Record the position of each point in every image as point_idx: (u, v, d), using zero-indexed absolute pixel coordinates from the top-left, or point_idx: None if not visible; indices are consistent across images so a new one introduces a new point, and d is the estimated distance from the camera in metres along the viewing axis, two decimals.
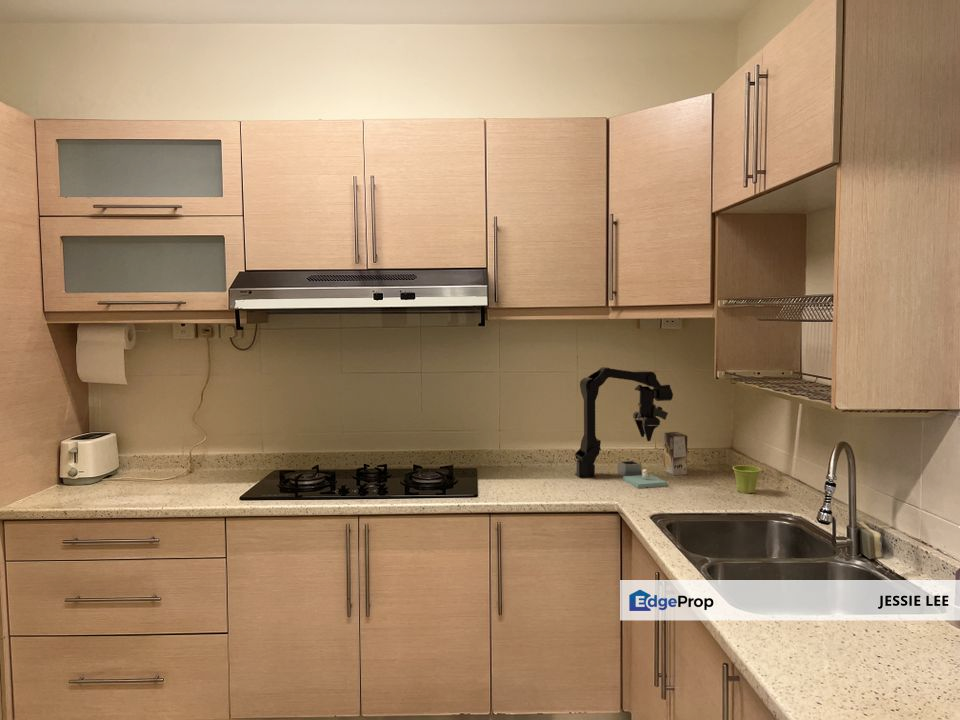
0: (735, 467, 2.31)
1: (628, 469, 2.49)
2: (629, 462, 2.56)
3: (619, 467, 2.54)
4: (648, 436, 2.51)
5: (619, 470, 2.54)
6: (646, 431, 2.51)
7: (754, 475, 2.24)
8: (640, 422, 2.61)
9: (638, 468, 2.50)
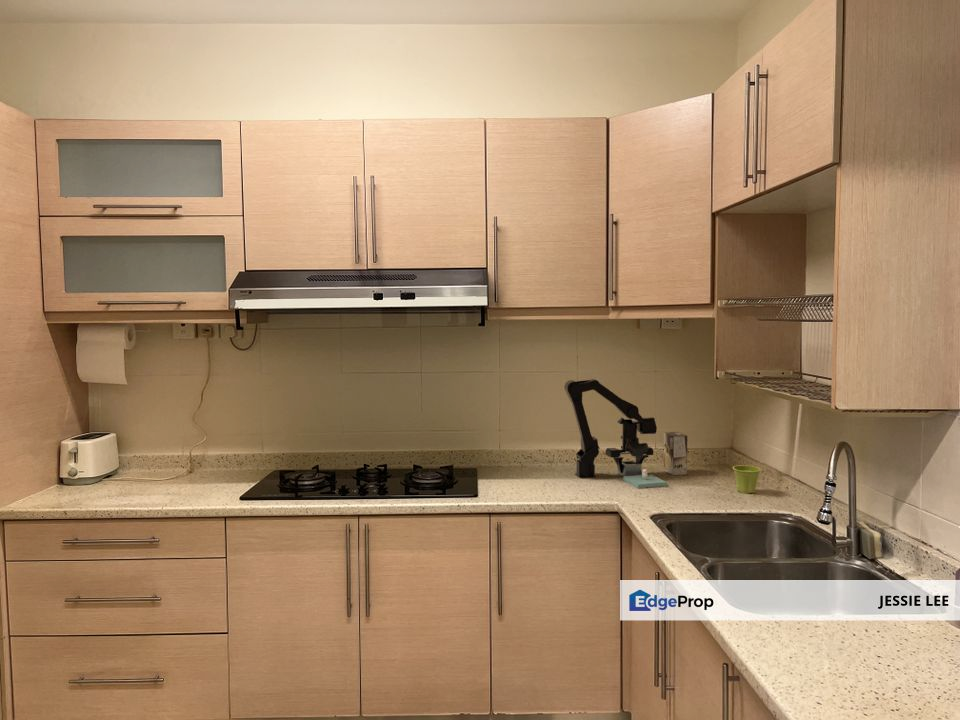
0: (735, 467, 2.31)
1: (628, 469, 2.49)
2: (629, 462, 2.56)
3: None
4: (618, 467, 2.53)
5: None
6: (616, 462, 2.53)
7: (754, 475, 2.24)
8: (637, 456, 2.55)
9: (638, 468, 2.50)
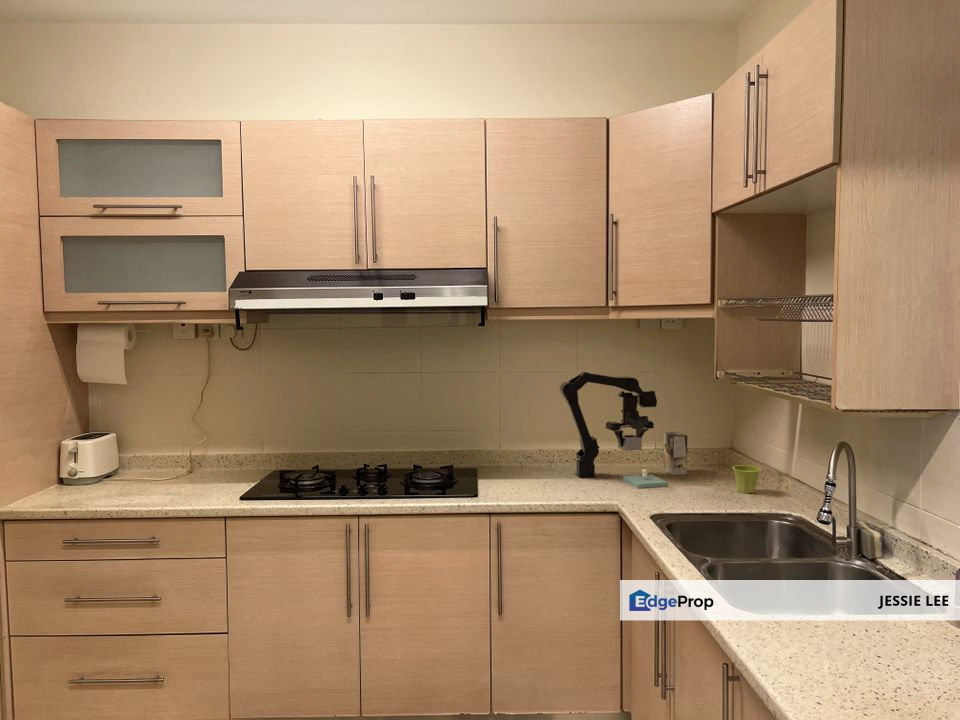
0: (735, 467, 2.31)
1: (628, 442, 2.49)
2: (629, 436, 2.55)
3: None
4: (619, 441, 2.52)
5: (619, 444, 2.53)
6: (616, 435, 2.53)
7: (754, 475, 2.24)
8: (637, 430, 2.54)
9: (638, 441, 2.50)
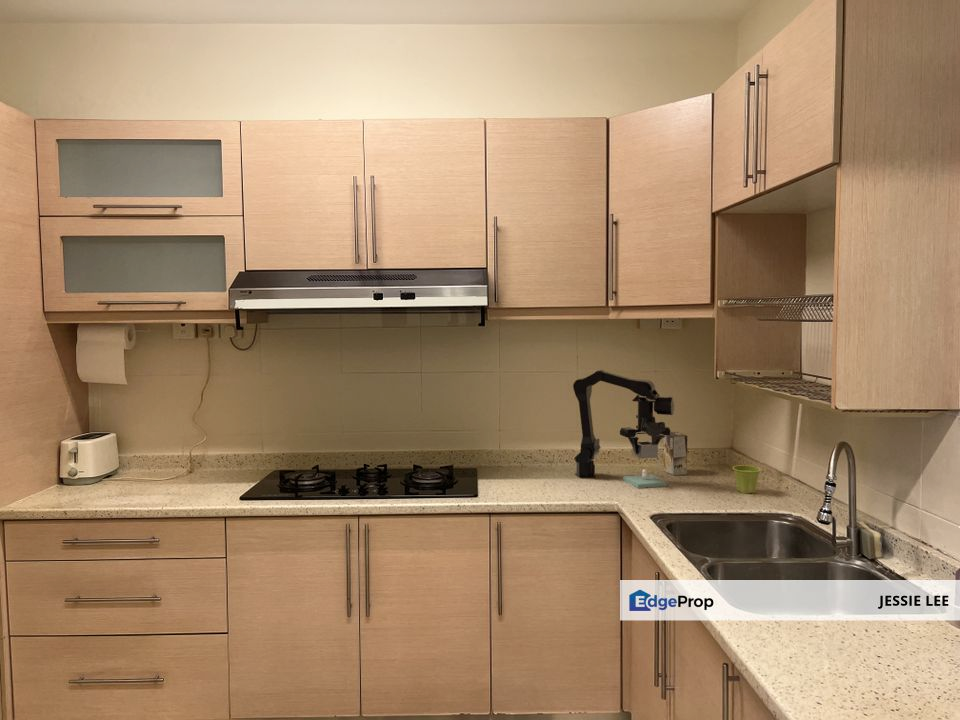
0: (735, 467, 2.31)
1: (644, 450, 2.36)
2: (644, 443, 2.42)
3: None
4: (633, 448, 2.39)
5: None
6: (631, 442, 2.40)
7: (754, 475, 2.24)
8: (653, 437, 2.41)
9: (654, 449, 2.37)
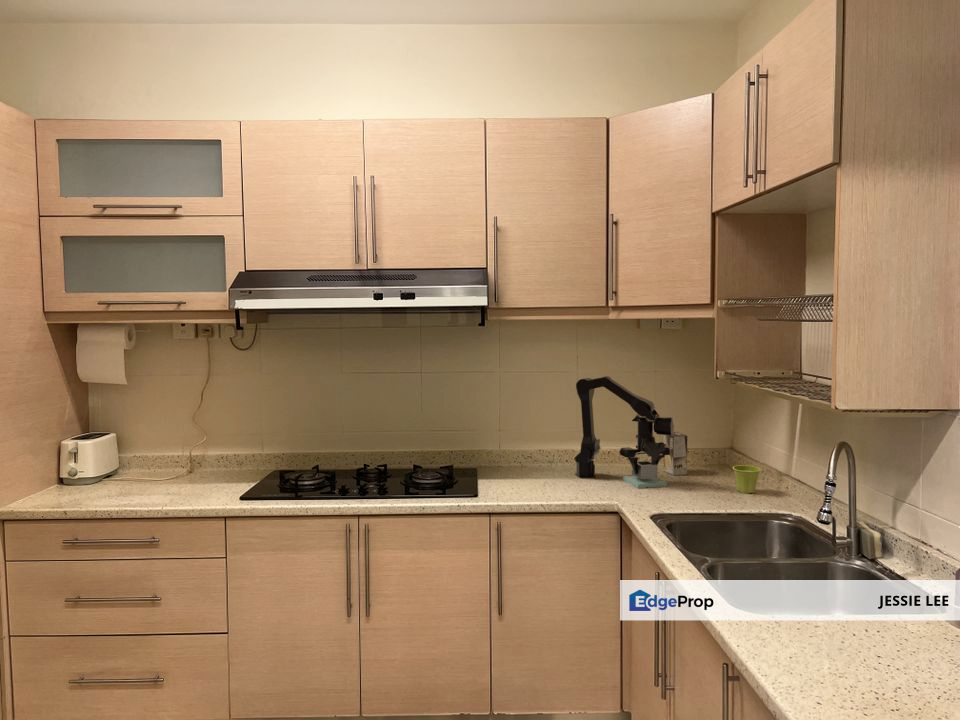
0: (735, 467, 2.31)
1: (644, 470, 2.36)
2: (644, 462, 2.43)
3: None
4: (633, 468, 2.40)
5: None
6: (631, 462, 2.40)
7: (754, 475, 2.24)
8: (653, 456, 2.42)
9: (654, 469, 2.37)
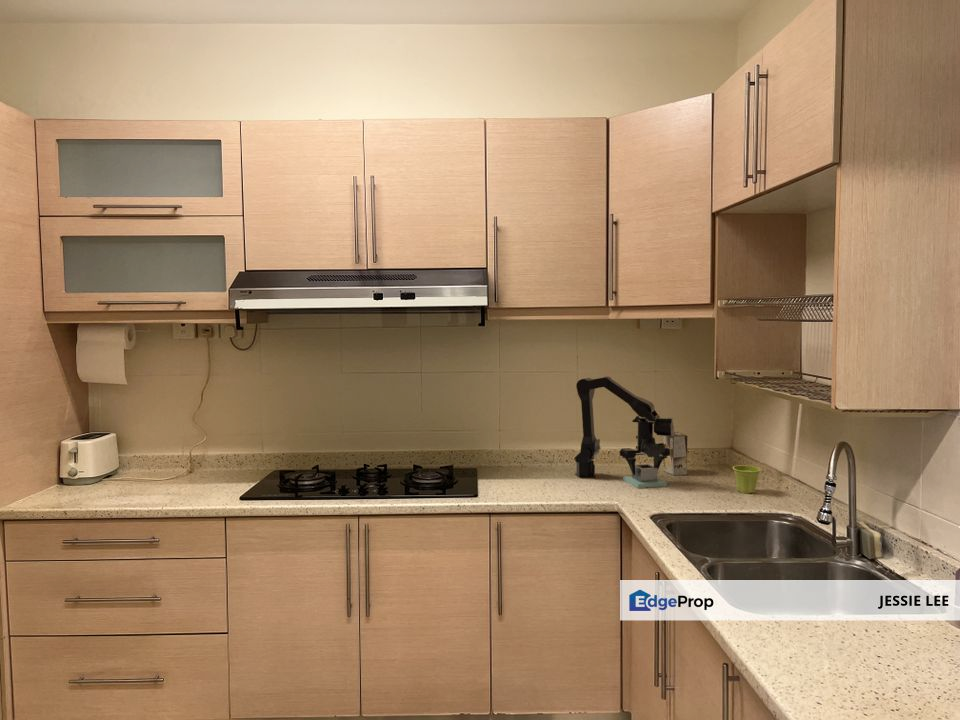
0: (735, 467, 2.31)
1: (644, 473, 2.37)
2: (644, 466, 2.43)
3: None
4: (631, 469, 2.40)
5: None
6: (628, 463, 2.40)
7: (754, 475, 2.24)
8: (655, 457, 2.42)
9: (654, 472, 2.38)
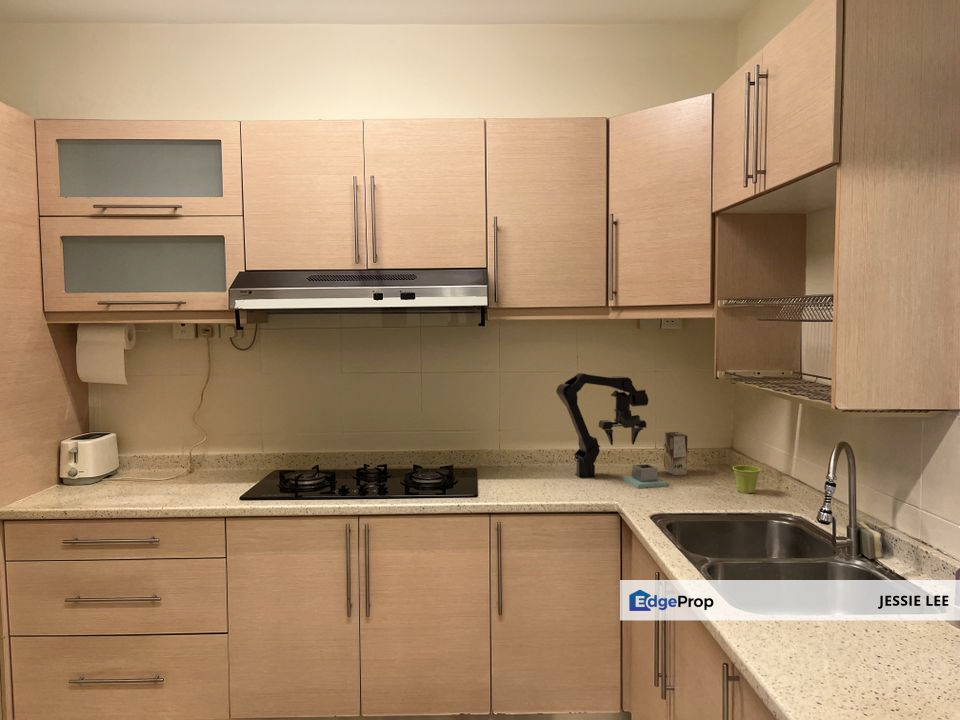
0: (735, 467, 2.31)
1: (644, 473, 2.37)
2: (644, 466, 2.43)
3: (634, 471, 2.41)
4: (609, 440, 2.55)
5: (634, 474, 2.41)
6: (607, 434, 2.56)
7: (754, 475, 2.24)
8: (633, 429, 2.57)
9: (654, 472, 2.38)
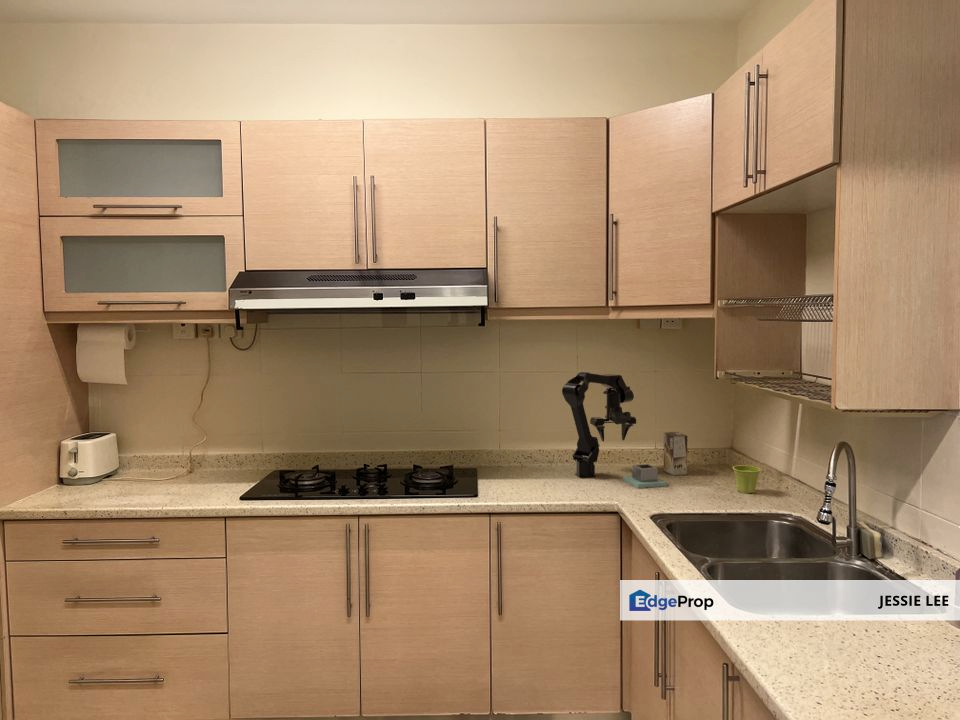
0: (735, 467, 2.31)
1: (644, 473, 2.37)
2: (644, 466, 2.43)
3: (634, 471, 2.41)
4: (600, 436, 2.62)
5: (634, 474, 2.41)
6: (598, 431, 2.63)
7: (754, 475, 2.24)
8: (623, 425, 2.64)
9: (654, 472, 2.38)
